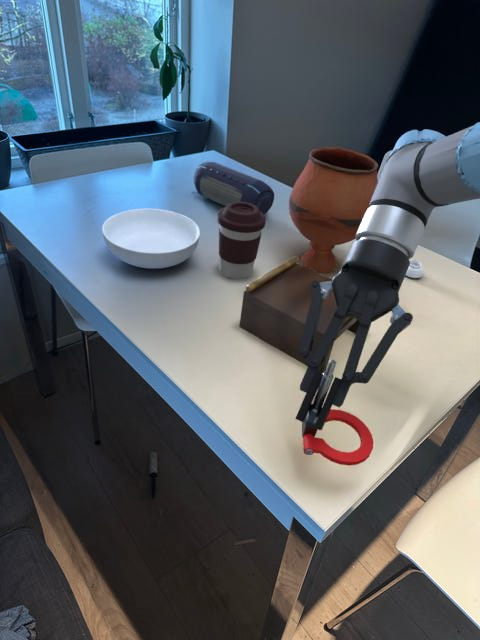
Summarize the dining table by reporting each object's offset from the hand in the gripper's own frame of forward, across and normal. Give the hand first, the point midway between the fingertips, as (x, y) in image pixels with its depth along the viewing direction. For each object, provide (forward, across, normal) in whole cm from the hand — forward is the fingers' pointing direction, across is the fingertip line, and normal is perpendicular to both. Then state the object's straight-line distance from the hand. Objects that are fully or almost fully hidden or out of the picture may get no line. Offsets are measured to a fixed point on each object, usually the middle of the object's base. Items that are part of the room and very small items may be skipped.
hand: (308, 424), depth 54 cm
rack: (-14, +11, -27) cm, 33 cm away
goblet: (-33, +17, -46) cm, 59 cm away
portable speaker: (-44, +50, -56) cm, 87 cm away
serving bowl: (-18, +50, -31) cm, 61 cm away
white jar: (-40, -3, -53) cm, 66 cm away
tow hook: (+1, -3, -6) cm, 7 cm away
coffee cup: (-22, +31, -35) cm, 52 cm away
